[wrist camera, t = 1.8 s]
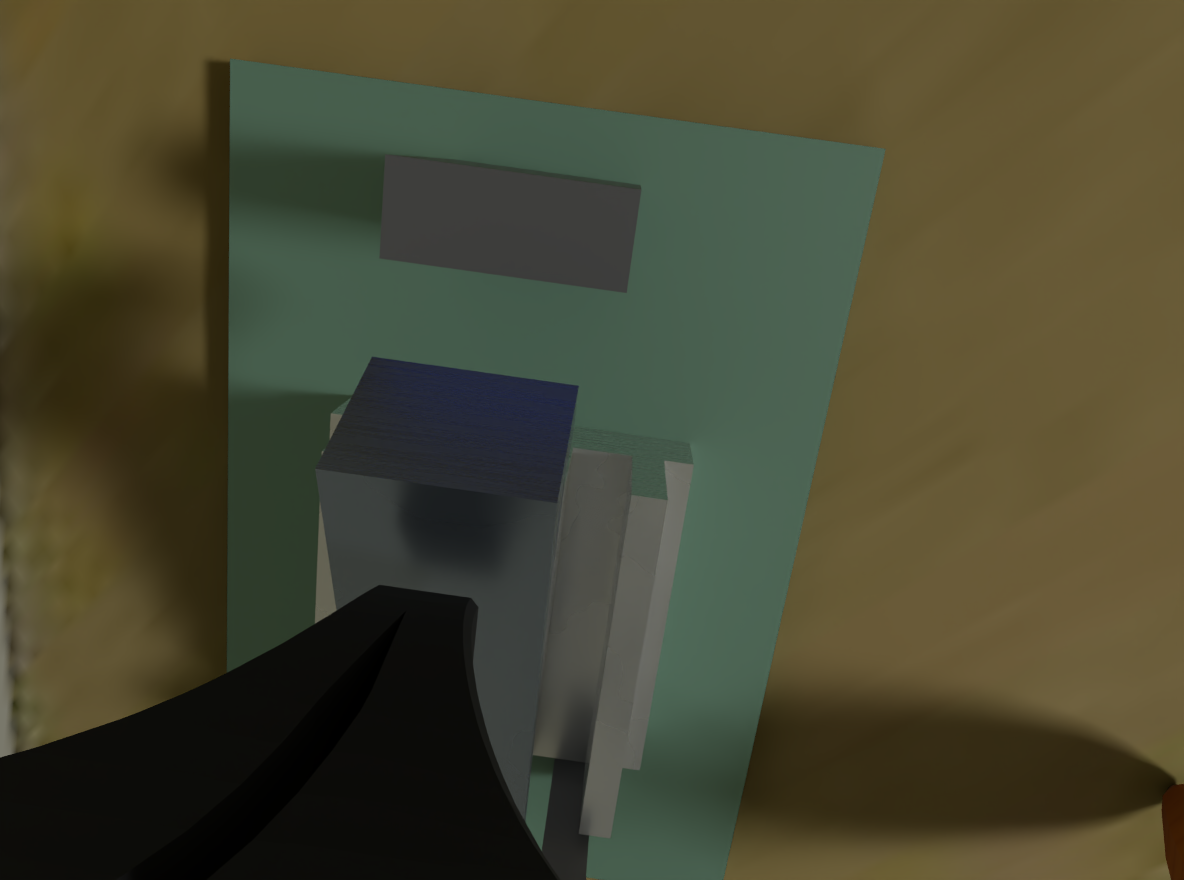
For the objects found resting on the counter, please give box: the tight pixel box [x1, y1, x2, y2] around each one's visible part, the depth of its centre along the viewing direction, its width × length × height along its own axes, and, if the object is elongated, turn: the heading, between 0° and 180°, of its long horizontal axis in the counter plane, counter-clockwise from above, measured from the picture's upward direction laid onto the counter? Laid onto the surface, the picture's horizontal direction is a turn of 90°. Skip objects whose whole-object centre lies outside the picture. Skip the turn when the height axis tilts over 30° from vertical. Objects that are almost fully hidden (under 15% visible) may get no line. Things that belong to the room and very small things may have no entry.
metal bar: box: [315, 357, 579, 822], centre depth 15 cm, size 13×3×3 cm, turn 173°
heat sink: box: [315, 398, 694, 838], centre depth 20 cm, size 8×8×4 cm
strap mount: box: [379, 154, 641, 880], centre depth 18 cm, size 15×6×6 cm, turn 172°
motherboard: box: [227, 59, 885, 880], centre depth 22 cm, size 20×14×1 cm
